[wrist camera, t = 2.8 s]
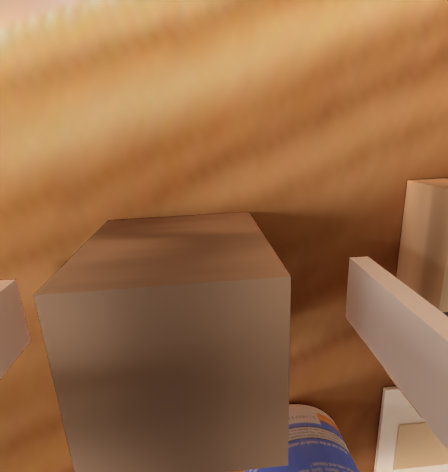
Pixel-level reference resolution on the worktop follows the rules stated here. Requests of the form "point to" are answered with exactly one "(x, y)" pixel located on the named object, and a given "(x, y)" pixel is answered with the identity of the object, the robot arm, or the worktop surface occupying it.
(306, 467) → the pill bottle
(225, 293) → the walnut block
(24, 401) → the worktop surface
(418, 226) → the oak base slab
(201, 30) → the worktop surface
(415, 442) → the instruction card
